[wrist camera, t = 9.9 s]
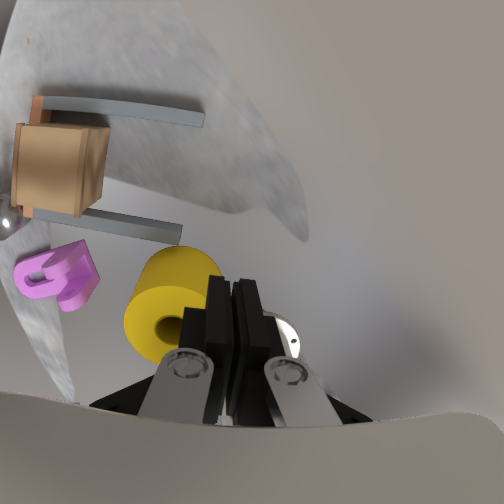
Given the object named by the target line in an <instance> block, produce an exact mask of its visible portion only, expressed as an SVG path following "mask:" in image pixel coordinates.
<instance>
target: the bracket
mask: <svg viewBox="0 0 504 504" xmlns="http://www.w3.org/2000/svg"><path fill="white" fill-rule="evenodd" d="M41 270H43V272H44V274H45V277H46V279H47V280H44V281H40V282H37V283H34V282H32V281H31V280H30V279H29V277H28V274H31V273H34V272H38V271H41ZM14 281H15V284H16V286H17V288H18V289H19V290H20V292H21V293H22V294H24V295H25V296H26V297H28V298H31V299H40V298H44V297H48V296H52V295H56V294H59V295H58V296H57V302H58V304H59V306H60V308H61V309H62V311H64V312H70V311H73V310H76V309H78V308H79V307H81V306H82V305H83V304H85V302H87V300H88V299H89V297H90V295H91V294H92V292H93V290H94V289H95V287H96V286H97V284H98V283H99V281H100V277H99V274H98V272H97V270H96V267H95V265H94V262H93V260H92V258H91V255H90V253H89V250H88V247H87V245H86V242H85V240H84V239H83V240H80V241H77V242H73V243H70V244H67V245H64V246H61V247H58V248H55V249H51V250H49V251H46V252H43V253H40V254H37V255H34V256H31V257H28V258H25V259H23V260H22V261H21V262H20V263H18V264H17V265H16V267H15V269H14Z"/></svg>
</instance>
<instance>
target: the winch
mask: <svg viewBox="0 0 504 504" xmlns="http://www.w3.org/2000/svg"><path fill="white" fill-rule="evenodd" d="M30 220H31V218H29V217H24V216H23V206H22V205H18V206H16V207H13V206H11V190H10V191H8V192H6V193H3V194H1V195H0V241H2V240H5V239H7V238H8V237H9V236H11V235H12V234H14V233H15V232H16V231H18V230H19V229H21V228H22V227H24V226H25V225H27V224H28V223H29V222H30Z"/></svg>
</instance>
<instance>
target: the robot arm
mask: <svg viewBox="0 0 504 504" xmlns="http://www.w3.org/2000/svg"><path fill="white" fill-rule="evenodd" d="M299 351H300V340H299V336H298V333H297V331H296V329H295V328H294V326H293V325H292V324H291V323H290V322H289V321H288V320H287V319H285V318H284V317H282V316H280V315H277V314H275V313H271V312H266V311H262V306H261V303H260V298H259V294H258V289H257V285H256V281H255V280H250V279H240V280H239V282H234V283H233V290H232V295H231V292H230V281H225V280H224V276H216V275H209V280H208V288H207V296H206V304H205V309H200V308H192V307H184V313H183V319H182V325H181V332H180V338H179V345H178V348H177V349H174V350H171V351H169V352H167V353H166V354H165V355H164V356H163V358H162V360H161V362H160V364H159V366H158V369H157V371H156V373H155V375H153V376H150V377H148V378H146V379H144V380H142V381H140V382H137V383H135V384H133V385H131V386H128V387H126V388H124V389H122V390H120V391H117V392H115V393H113V394H110V395H108V396H106V397H104V398H101V399H99V400H97V401H95V402H93V403H92V404H90V405H89V406H84V405H80V404H79V403H71V402H65V401H61V400H56V399H52V398H48V397H44V396H37V395H32V394H27V393H18V392H0V504H504V433H503V432H502V431H501V430H500V429H499V428H498V427H497V426H496V424H494V423H493V422H492V421H491V420H490V419H488V418H486V417H483V416H480V415H476V414H470V413H462V412H446V413H436V414H429V415H421V416H414V417H406V418H400V419H392V420H384V421H381V420H379V421H375V422H374V421H372V420H371V419H370V418H369V417H367V416H365V415H363V414H362V413H360V412H358V411H356V410H354V409H352V408H350V407H348V406H347V405H345V404H343V403H341V402H340V401H338V400H336V399H334V398H332V397H331V396H329V395H327V394H325V392H324V391H323V389H322V387H321V386H320V384H319V382H318V380H317V379H316V377H315V375H314V373H313V372H312V370H311V369H310V367H309V366H308V365H307V364H305V363H304V362H303V361H301V360H298V359H297V357H298V355H299ZM218 415H222V425H214V424H215V423H217V420H218Z"/></svg>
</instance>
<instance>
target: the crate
mask: <svg viewBox="0 0 504 504" xmlns="http://www.w3.org/2000/svg"><path fill="white" fill-rule="evenodd" d="M110 129H111V128H109V127H101V126H91V125H81V124H70V123H58V122H44V123H35V124H26V125H25V123H16V131H15V140H14V151H13V165H12V188H11V206H13V207H16V206H18V205H22V206H27V207H33V208H39V209H44V210H50V211H56V212H61V213H67V214H73V215H74V216H73V217H74V218H80V217H81V216H82V212H83V211H84V210H86V209H87V208H88V207H89V206H91V205H92V204H93V203H94V202H96V201H97V200H98V199H100V198H101V196H102V187H103V178H104V168H105V160H106V154H107V147H108V141H109V135H110Z"/></svg>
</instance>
